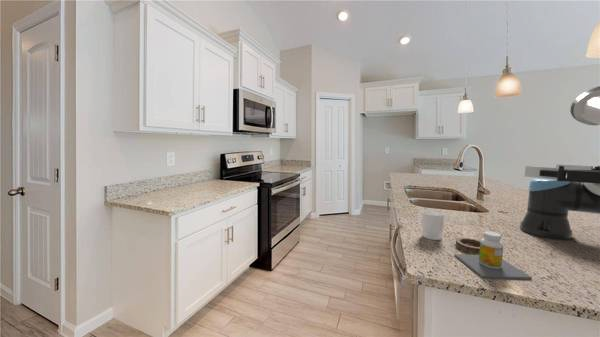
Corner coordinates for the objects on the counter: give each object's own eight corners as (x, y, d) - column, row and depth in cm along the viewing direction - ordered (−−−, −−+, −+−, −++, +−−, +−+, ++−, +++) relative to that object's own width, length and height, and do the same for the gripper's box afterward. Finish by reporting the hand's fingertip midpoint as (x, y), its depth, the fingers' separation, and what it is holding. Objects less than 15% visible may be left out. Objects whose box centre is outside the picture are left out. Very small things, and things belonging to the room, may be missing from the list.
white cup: (446, 241, 90) (448, 216, 89) (424, 240, 92) (425, 215, 91) (438, 234, 98) (440, 210, 97) (418, 232, 99) (419, 209, 98)
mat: (495, 257, 78) (495, 255, 77) (531, 279, 65) (531, 277, 65) (454, 256, 78) (454, 254, 78) (482, 277, 65) (482, 275, 65)
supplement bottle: (474, 260, 74) (476, 230, 73) (490, 259, 74) (492, 230, 73) (489, 269, 69) (491, 237, 68) (506, 268, 69) (509, 236, 68)
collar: (476, 243, 89) (476, 237, 88) (495, 254, 79) (495, 248, 79) (450, 242, 89) (450, 237, 89) (466, 253, 80) (466, 248, 80)
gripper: (659, 207, 39) (510, 186, 59) (713, 196, 48) (566, 181, 68) (665, 163, 39) (513, 157, 59) (719, 159, 47) (569, 155, 67)
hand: (541, 170), depth 63 cm, fingers open, 13 cm apart
